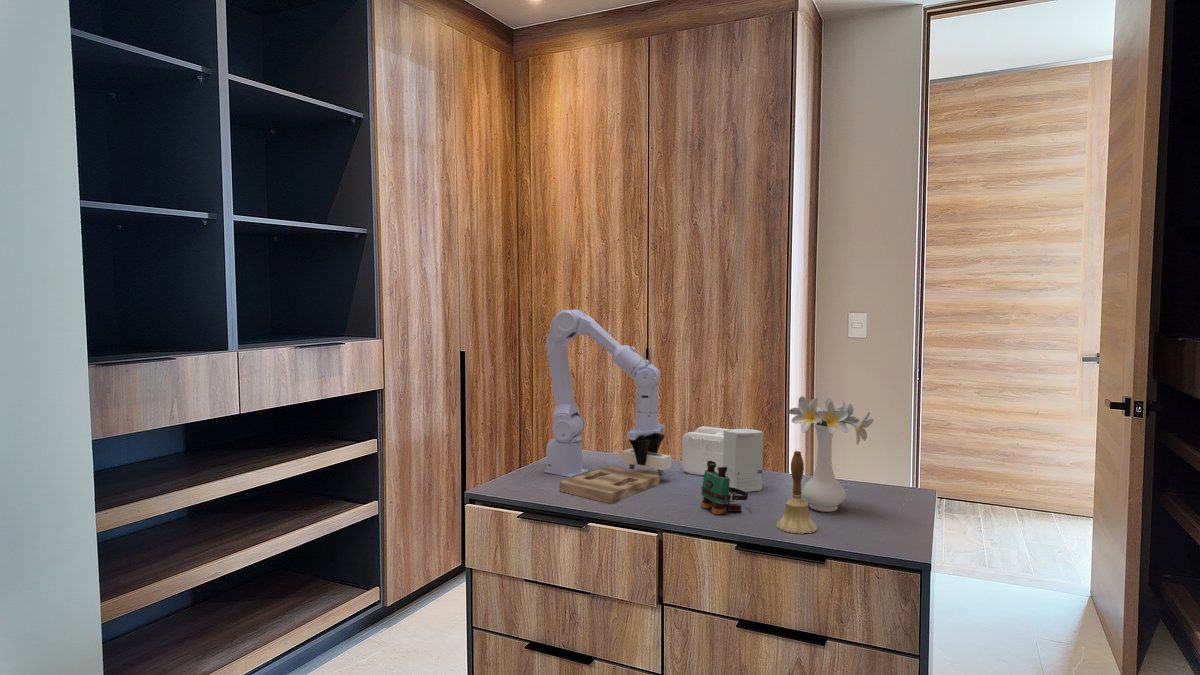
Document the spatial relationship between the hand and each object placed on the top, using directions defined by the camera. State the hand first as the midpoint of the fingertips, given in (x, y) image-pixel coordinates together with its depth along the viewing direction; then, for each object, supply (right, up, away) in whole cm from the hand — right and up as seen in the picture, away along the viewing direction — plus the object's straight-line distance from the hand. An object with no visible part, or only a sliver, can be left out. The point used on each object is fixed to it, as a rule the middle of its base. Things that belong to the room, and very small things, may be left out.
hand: (646, 463), depth 184 cm
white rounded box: (+19, -4, +6) cm, 20 cm away
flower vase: (+39, -6, -24) cm, 47 cm away
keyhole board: (-9, -5, -9) cm, 14 cm away
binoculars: (+16, -6, -25) cm, 30 cm away
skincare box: (+23, -5, -9) cm, 25 cm away
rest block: (0, -4, 0) cm, 4 cm away
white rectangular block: (0, -2, 0) cm, 2 cm away
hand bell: (+29, -7, -38) cm, 48 cm away
